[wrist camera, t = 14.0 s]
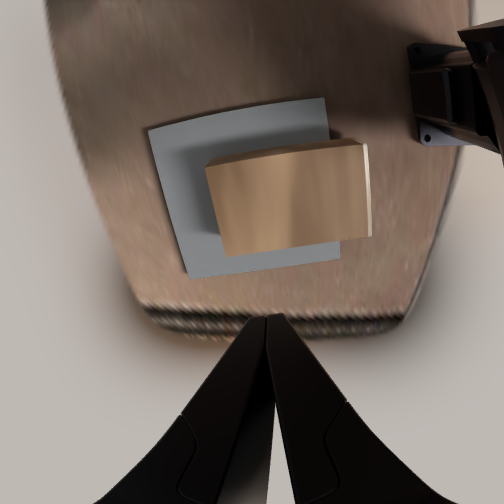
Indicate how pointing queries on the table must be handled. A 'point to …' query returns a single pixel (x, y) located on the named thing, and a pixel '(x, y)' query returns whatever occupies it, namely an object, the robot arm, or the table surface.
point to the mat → (197, 188)
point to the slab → (291, 195)
